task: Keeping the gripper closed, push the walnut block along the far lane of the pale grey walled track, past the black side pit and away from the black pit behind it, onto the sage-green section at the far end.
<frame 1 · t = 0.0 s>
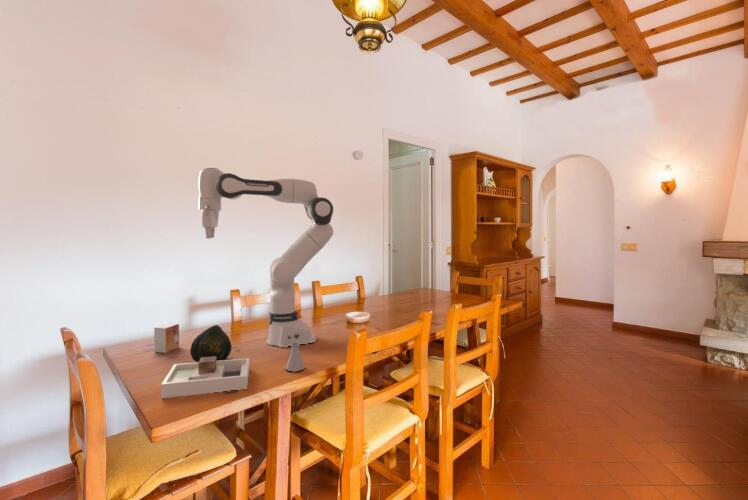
hand: (210, 238, 157), 48 cm above the table, tool pointing down, fingers open, 8 cm apart
walnut block: (207, 370, 126), point 3 cm above the table, touching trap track
squash: (211, 362, 142), on the table
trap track: (209, 382, 123), on the table
flask: (295, 369, 137), on the table
small box: (167, 350, 155), on the table
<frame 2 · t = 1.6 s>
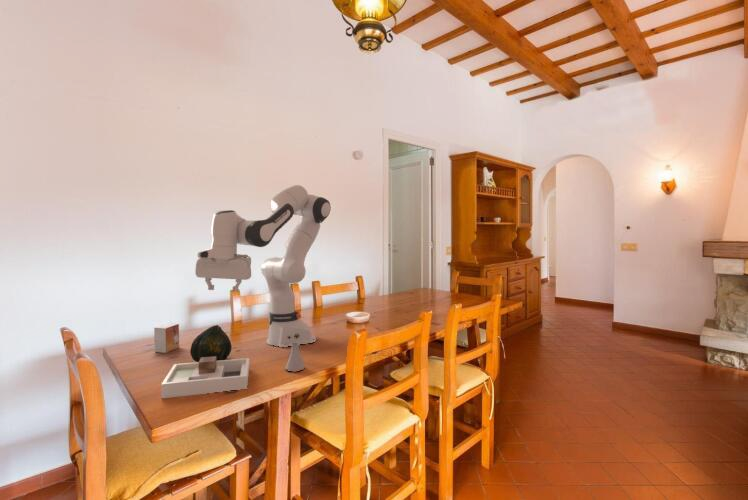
hand: (223, 290, 136), 29 cm above the table, tool pointing down, fingers open, 8 cm apart
nothing on the table moved.
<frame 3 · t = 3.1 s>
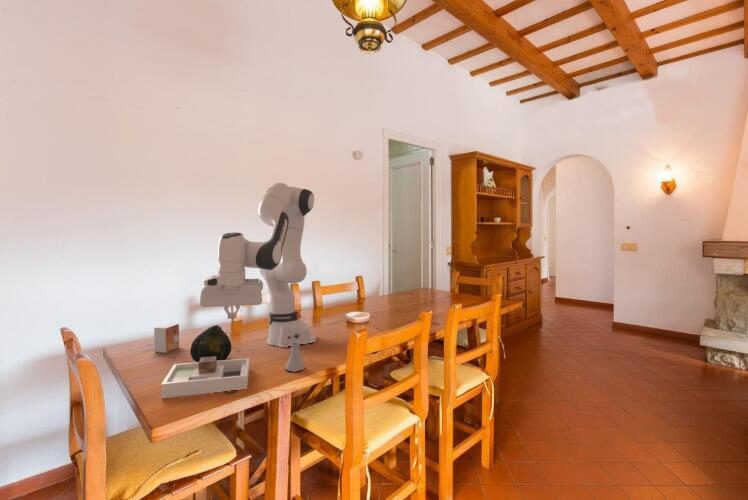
hand: (232, 318, 128), 21 cm above the table, tool pointing down, fingers closed
nothing on the table moved.
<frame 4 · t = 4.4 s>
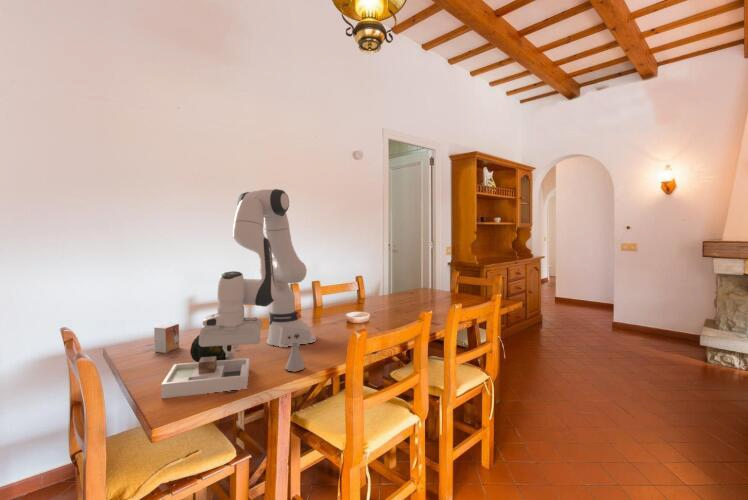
hand: (230, 357, 128), 7 cm above the table, tool pointing down, fingers closed
nothing on the table moved.
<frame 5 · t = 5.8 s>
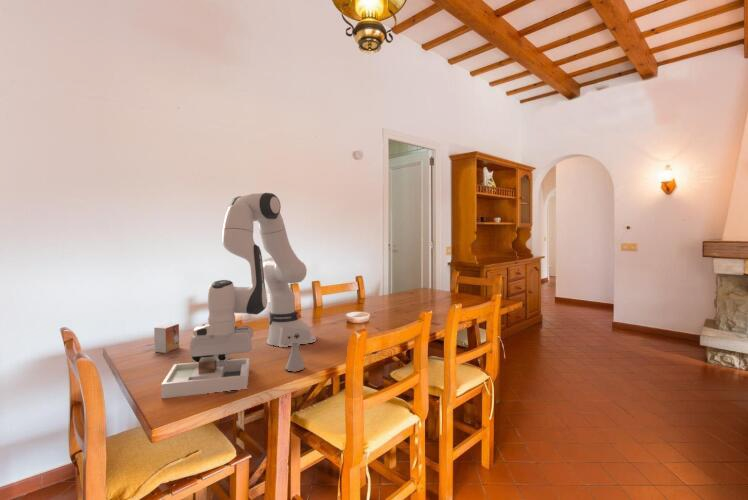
hand: (221, 366, 127), 4 cm above the table, tool pointing down, fingers closed
walnut block: (207, 370, 126), point 3 cm above the table, touching gripper, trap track
everything else where it was.
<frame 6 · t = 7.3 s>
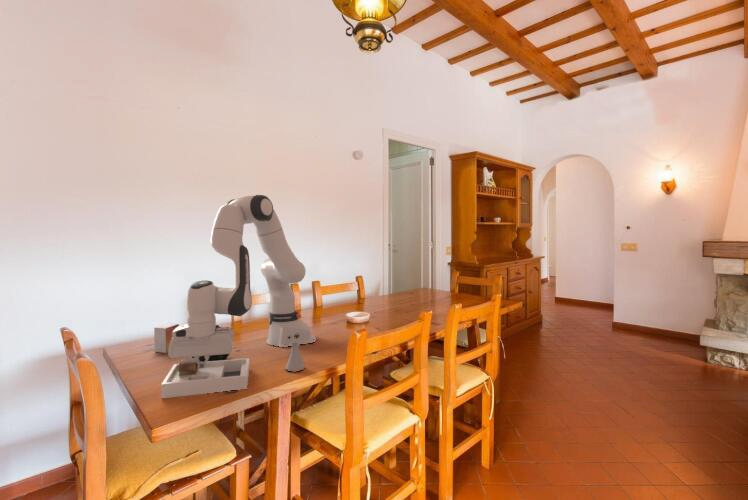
hand: (202, 367, 125), 4 cm above the table, tool pointing down, fingers closed
walnut block: (188, 372, 124), point 3 cm above the table, touching gripper, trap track
everything else where it was.
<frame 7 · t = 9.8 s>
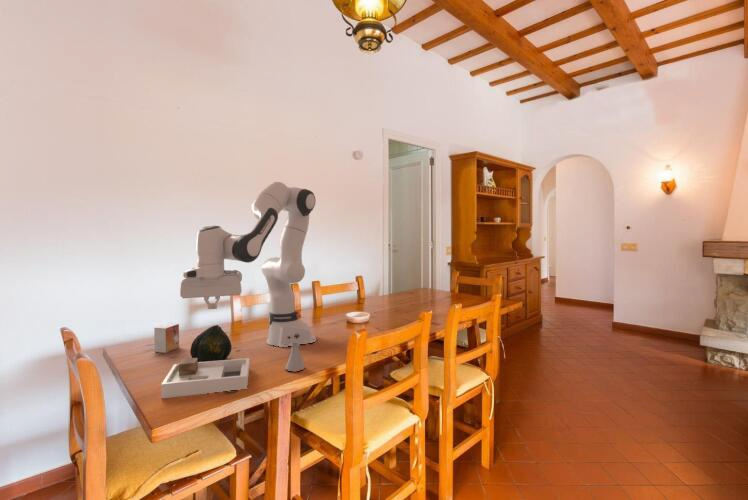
hand: (212, 308, 132), 23 cm above the table, tool pointing down, fingers closed
walnut block: (188, 372, 124), point 3 cm above the table, touching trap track
everything else where it was.
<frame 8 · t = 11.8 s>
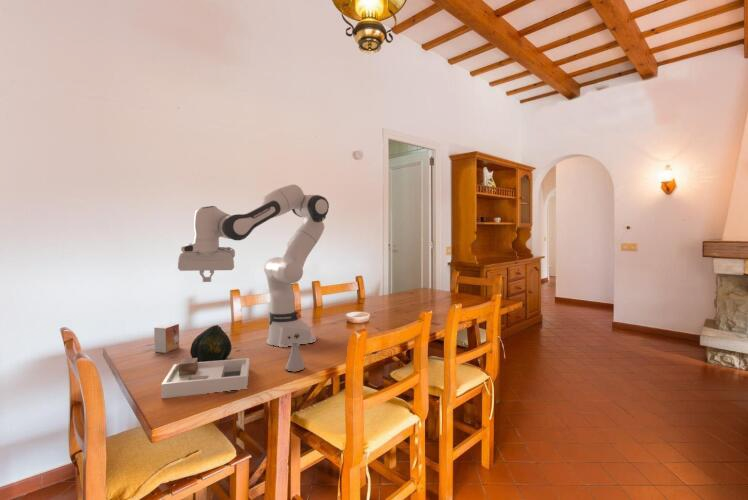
hand: (207, 281, 144), 31 cm above the table, tool pointing down, fingers closed
nothing on the table moved.
at the end: walnut block 1.2 cm from the target spot on the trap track, point 3.0 cm above the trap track's base; walnut block tilted 0° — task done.
